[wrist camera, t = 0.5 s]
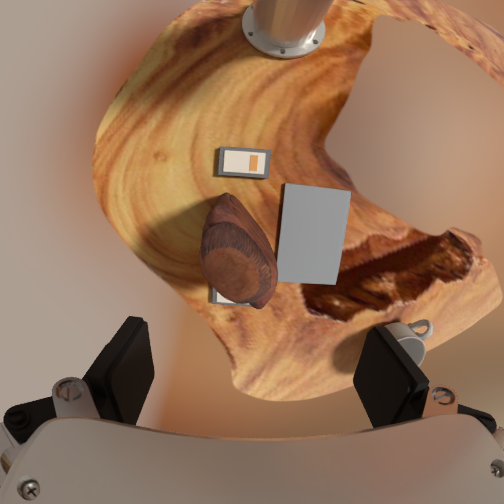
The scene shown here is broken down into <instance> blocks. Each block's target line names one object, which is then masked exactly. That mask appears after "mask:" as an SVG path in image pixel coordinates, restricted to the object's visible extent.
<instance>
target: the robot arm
mask: <svg viewBox="0 0 504 504" xmlns="http://www.w3.org/2000/svg"><path fill="white" fill-rule="evenodd" d="M333 1H334V0H253V3H252V4H251V5H250V6H249V7H248V8H247V9H246V11H245V13H244V14H243V18H242V30H243V33H244V35H245V37H246V39H247V40H248V42H249V43H250V44H251V45H252V46H253V47H255V48H256V49H258V50H259V51H261V52H263V53H265V54H267V55H270V56H274V57H278V58H299V57H303V56H306V55H308V54H310V53H312V52H313V51H315V50H316V49H317V48H318V47H319V46H320V44H321V43H322V41H323V39H324V36H325V24H324V21H323V18H324V17H325V15H326V13H327V12H328V10H329V8H330V6H331V5H332V3H333ZM250 35H252V36H250ZM314 43H315V44H314ZM281 53H283V54H281ZM153 379H154V365H153V360H152V353H151V346H150V339H149V332H148V325H147V322H145V321H144V320H143V318H141V317H133V316H129V317H128V318H127V319H126V321H125V322H124V323H123V325H122V326H121V327H120V329H119V330H118V331H117V333H116V334H115V335H114V337H113V338H112V340H111V341H110V342H109V343H108V344H107V345H106V346H105V347H104V349H103V350H102V351H101V353H100V354H99V355H98V357H97V358H96V360H95V361H94V363H93V364H92V365H91V367H90V368H89V370H88V371H87V372H86V374H85V375H84V377H83V378H82V379H79V378H76V377H67V378H64V379H61V380H59V381H58V382H57V383H56V384H55V385H54V386H53V389H52V396H51V397H47V398H43V399H40V400H36V401H32V402H28V403H24V404H20V405H16V406H13V407H11V408H10V409H8V410H7V412H6V413H5V415H4V421H3V422H2V423H0V504H504V429H503V428H502V427H499V428H498V429H497V428H496V427H497V425H496V422H495V419H494V418H493V417H492V416H491V415H490V414H487V413H485V412H482V411H479V410H475V409H472V408H469V407H466V406H463V405H460V404H458V396H457V394H456V392H455V391H454V390H453V389H451V388H450V387H448V386H445V385H435V386H432V387H431V388H429V387H428V384H429V380H428V379H427V377H426V376H425V375H424V373H423V372H422V371H421V370H420V368H419V367H418V366H417V364H416V363H415V362H414V361H413V359H412V358H411V357H410V356H409V354H408V353H407V352H406V351H405V349H404V348H403V347H402V346H401V344H400V343H399V342H398V341H397V340H396V338H395V337H394V336H393V335H392V333H391V332H390V331H389V330H388V329H387V328H386V327H373V328H372V329H371V330H370V331H369V332H368V334H367V337H366V340H365V344H364V347H363V350H362V353H361V356H360V359H359V362H358V365H357V368H356V371H355V374H354V377H353V384H354V386H355V388H356V391H357V393H358V395H359V397H360V399H361V401H362V403H363V406H364V408H365V410H366V412H367V415H368V417H369V419H370V421H371V423H372V426H373V429H366V430H361V431H354V432H348V433H340V434H332V435H323V436H312V437H300V438H299V437H297V438H275V439H274V438H269V439H267V438H266V439H259V438H256V439H255V438H227V437H213V436H212V437H211V436H201V435H191V434H184V433H176V432H169V431H163V430H157V429H151V428H146V427H140V426H136V423H137V420H138V417H139V415H140V412H141V410H142V407H143V404H144V402H145V399H146V397H147V394H148V392H149V389H150V386H151V384H152V381H153Z"/></svg>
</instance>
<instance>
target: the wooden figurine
mask: <svg viewBox="0 0 504 504" xmlns="http://www.w3.org/2000/svg"><path fill="white" fill-rule="evenodd" d="M198 256H199V259H200V265H201V269H202V272H203V274H204V276H205V278H206V279H207V280H208V281H209V283H210V284H211V285H212V286H213V288H214V289H215V290H216V291H217V292H218V293H219V294H220V295H221V296H222V297H224V298H225V299H227V300H230V301H232V302H234V303H237V304H248V303H249V304H250V305H251V306H253V307H254V308H256V309H262V308H263V307H264V306H265V305H266V303H267V302H268V301H269V300H270V299H271V297H272V296H273V294H274V292H275V288H276V285H277V281H278V268H277V263H276V260H275V256H274V253H273V250H272V248H271V246H270V243H269V241H268V239H267V237H266V235H265V233H264V232H263V230H262V229H261V228H260V226H259V225H258V224H257V223H256V221H255V220H254V219H253V218H252V216H251V215H250V214H249V212H248V211H247V210H246V208H245V207H244V206H243V205H242V204H241V202H240V201H239V200H238V199H237V198H236V197H235V196H233V195H230V194H229V193H224V194H222V195H221V196H220V197H219V199H218V200H217V201H216V203H215V205H214V206H213V207H212V209H211V210H210V212H209V214H208V216H207V219H206V222H205V225H204V227H203V233H202V243H201V247H200V251H199V255H198Z"/></svg>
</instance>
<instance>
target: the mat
mask: <svg viewBox="0 0 504 504" xmlns="http://www.w3.org/2000/svg"><path fill="white" fill-rule="evenodd" d="M350 197H351V191H345V190H338V189H331V188H323V187H315V186H307V185H298V184H289V183H285V188H284V198H283V208H282V218H281V227H280V236H279V245H278V254H277V262H276V263H277V268H278V281H277V282H294V283H313V284H333V285H336V280H337V275H338V270H339V265H340V260H341V254H342V249H343V243H344V237H345V231H346V225H347V218H348V211H349V204H350Z"/></svg>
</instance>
